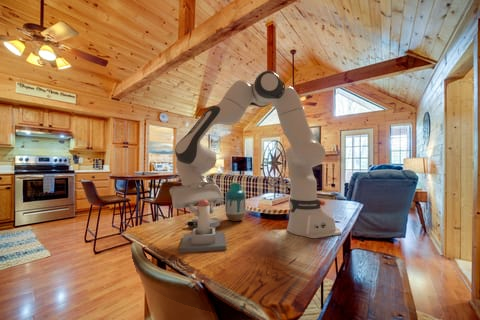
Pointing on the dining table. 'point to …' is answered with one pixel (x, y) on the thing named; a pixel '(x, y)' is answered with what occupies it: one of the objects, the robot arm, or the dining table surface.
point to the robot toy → (213, 222)
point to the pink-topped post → (204, 217)
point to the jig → (203, 241)
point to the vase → (235, 202)
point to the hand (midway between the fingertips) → (204, 213)
